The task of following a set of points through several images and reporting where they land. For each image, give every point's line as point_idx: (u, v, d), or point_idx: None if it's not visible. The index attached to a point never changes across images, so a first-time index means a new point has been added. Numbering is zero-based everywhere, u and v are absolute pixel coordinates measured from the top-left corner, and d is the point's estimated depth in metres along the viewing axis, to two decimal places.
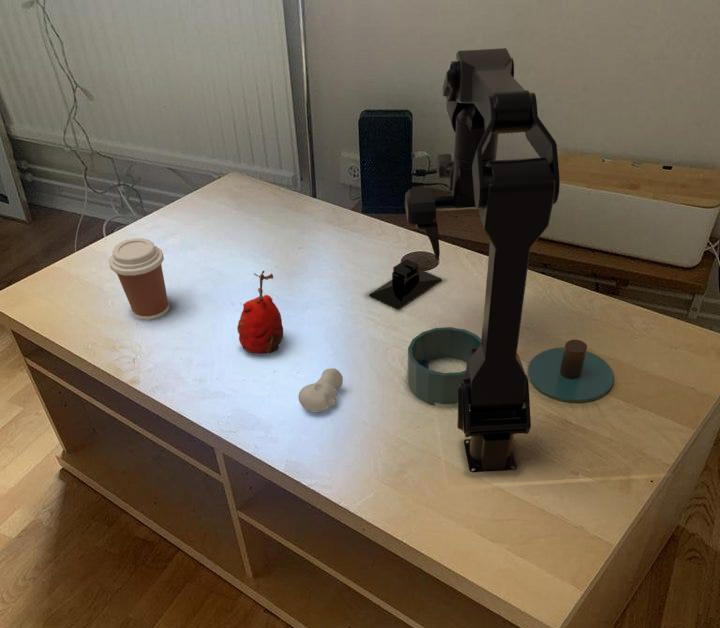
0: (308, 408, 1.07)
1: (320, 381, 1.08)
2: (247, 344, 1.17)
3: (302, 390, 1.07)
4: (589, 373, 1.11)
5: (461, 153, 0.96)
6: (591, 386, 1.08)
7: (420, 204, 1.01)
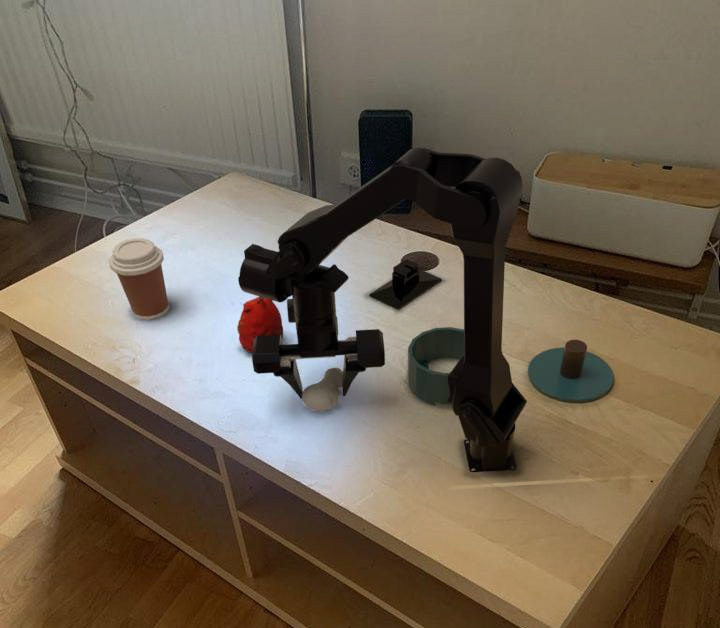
0: (312, 408, 1.07)
1: (323, 380, 1.09)
2: (247, 344, 1.17)
3: (306, 390, 1.07)
4: (589, 373, 1.11)
5: (317, 314, 0.96)
6: (591, 386, 1.08)
7: (263, 355, 1.01)
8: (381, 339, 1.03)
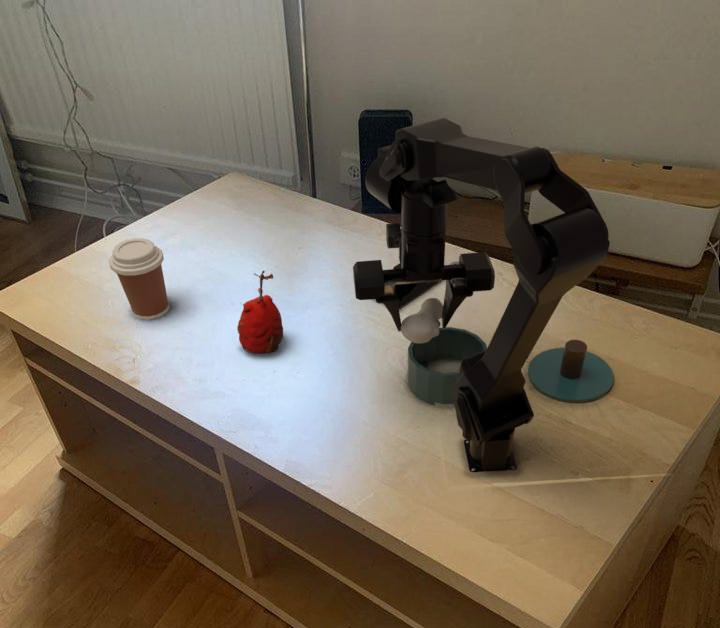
0: (412, 339, 1.02)
1: (422, 311, 1.03)
2: (247, 344, 1.17)
3: (405, 320, 1.02)
4: (589, 373, 1.11)
5: (416, 230, 0.90)
6: (591, 386, 1.08)
7: (367, 279, 0.95)
8: (489, 261, 0.97)
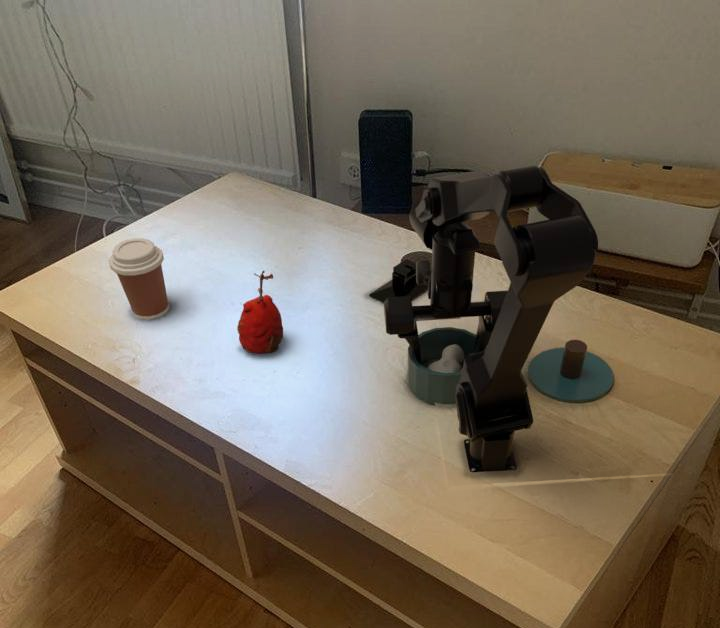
0: None
1: (445, 357, 1.10)
2: (247, 344, 1.17)
3: (431, 367, 1.09)
4: (589, 373, 1.11)
5: (442, 271, 0.96)
6: (591, 386, 1.08)
7: (398, 315, 1.01)
8: None
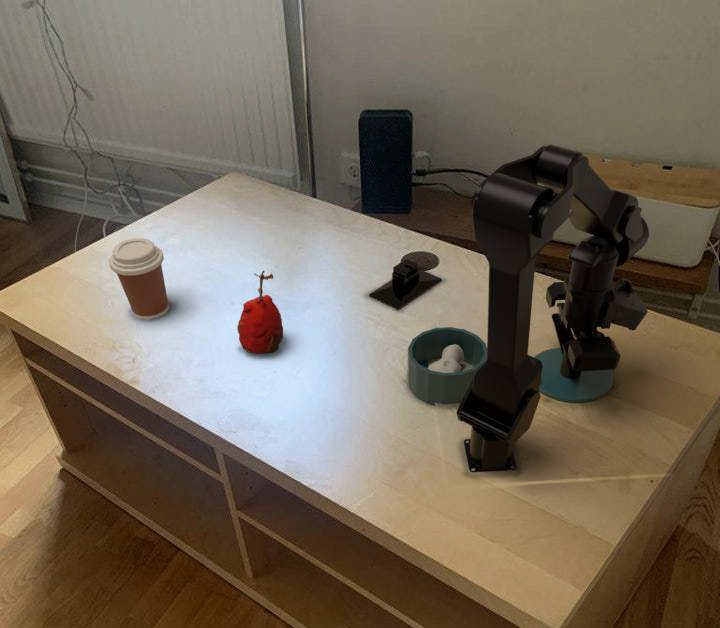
0: None
1: (445, 357, 1.10)
2: (247, 344, 1.17)
3: (431, 367, 1.09)
4: (589, 373, 1.11)
5: (570, 275, 0.99)
6: (591, 386, 1.08)
7: (554, 287, 1.09)
8: (599, 354, 0.97)
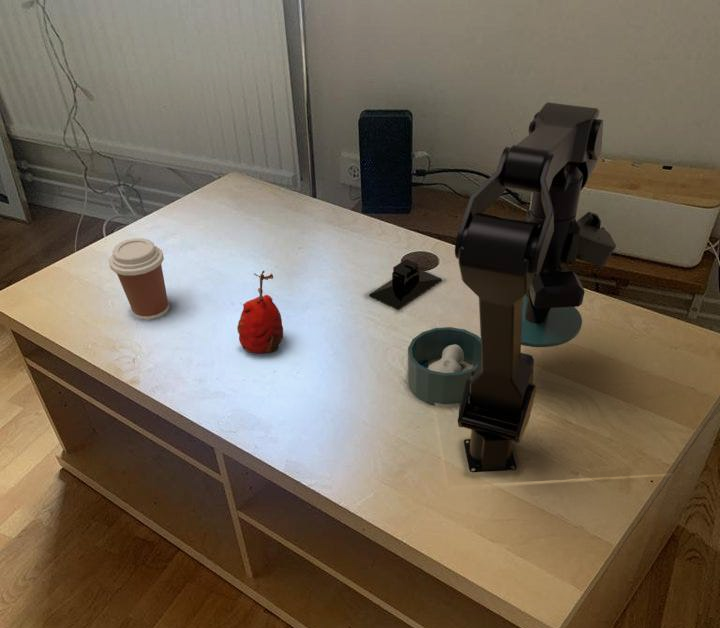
0: None
1: (445, 357, 1.10)
2: (247, 344, 1.17)
3: (431, 367, 1.09)
4: (556, 318, 1.03)
5: (533, 208, 0.91)
6: (557, 331, 1.01)
7: None
8: (561, 289, 0.90)
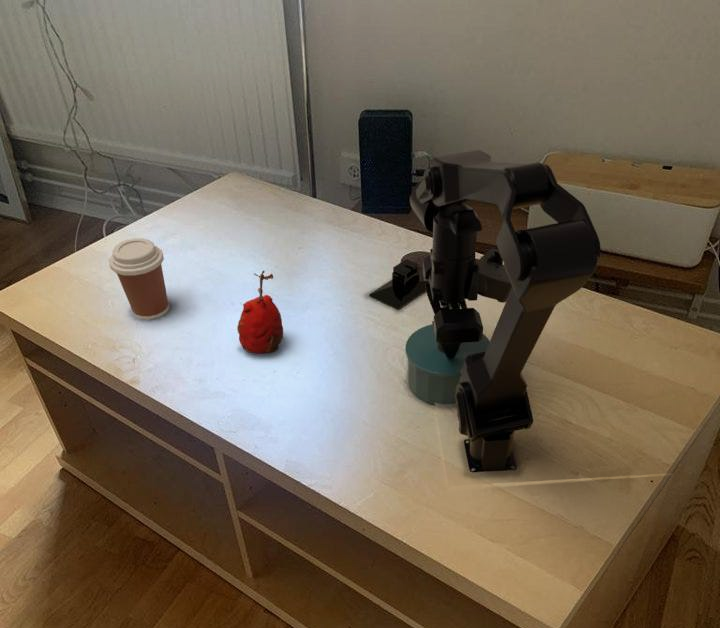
0: None
1: None
2: (247, 344, 1.17)
3: None
4: (467, 347, 1.07)
5: (443, 254, 0.94)
6: None
7: (429, 260, 1.05)
8: (460, 325, 0.94)
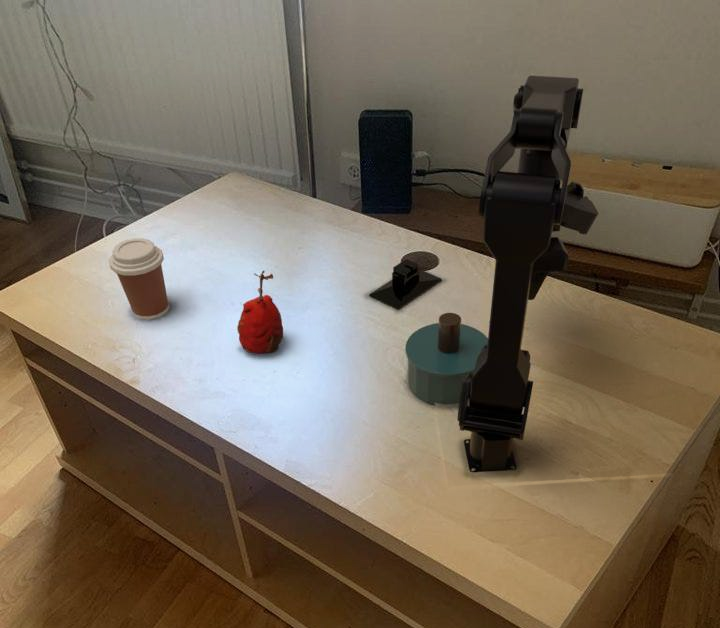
0: None
1: None
2: (247, 344, 1.17)
3: None
4: (467, 347, 1.07)
5: None
6: (467, 360, 1.05)
7: None
8: (546, 253, 0.95)
